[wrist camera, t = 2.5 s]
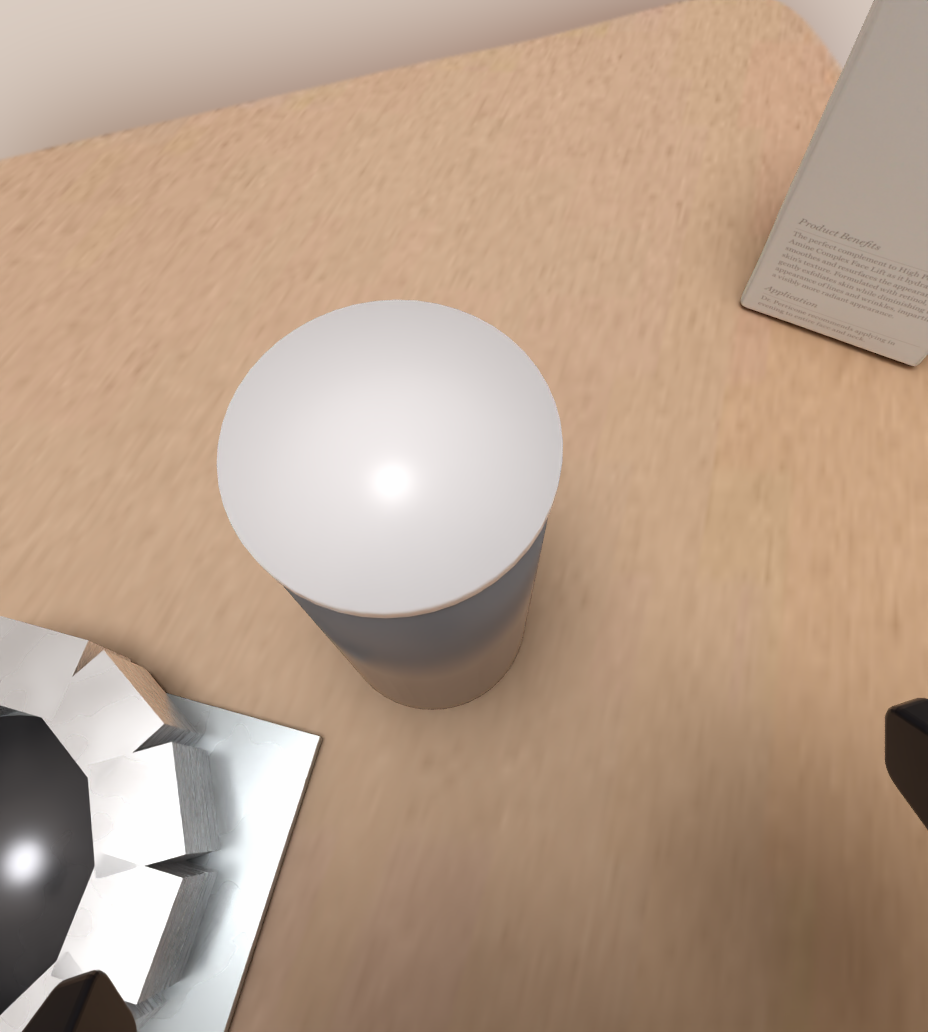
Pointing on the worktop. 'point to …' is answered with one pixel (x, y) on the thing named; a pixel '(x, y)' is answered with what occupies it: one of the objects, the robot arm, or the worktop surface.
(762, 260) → the skincare box
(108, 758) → the barrel ring
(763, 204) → the worktop surface
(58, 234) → the worktop surface
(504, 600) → the lens cylinder
